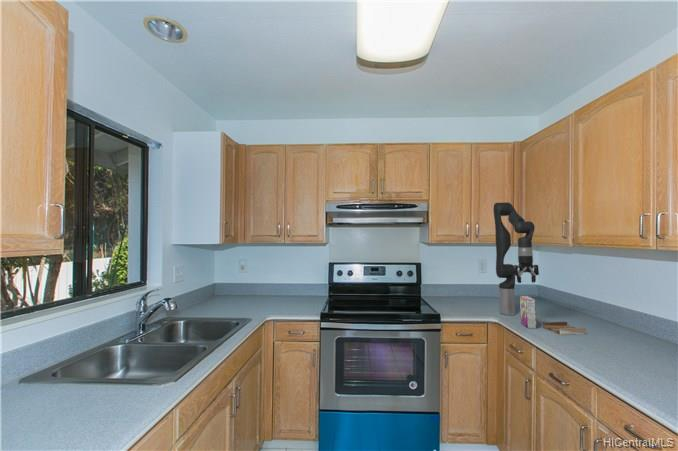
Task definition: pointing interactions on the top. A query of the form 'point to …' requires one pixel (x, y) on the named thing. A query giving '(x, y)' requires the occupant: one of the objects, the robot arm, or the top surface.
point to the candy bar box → (528, 312)
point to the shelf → (563, 328)
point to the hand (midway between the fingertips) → (526, 282)
